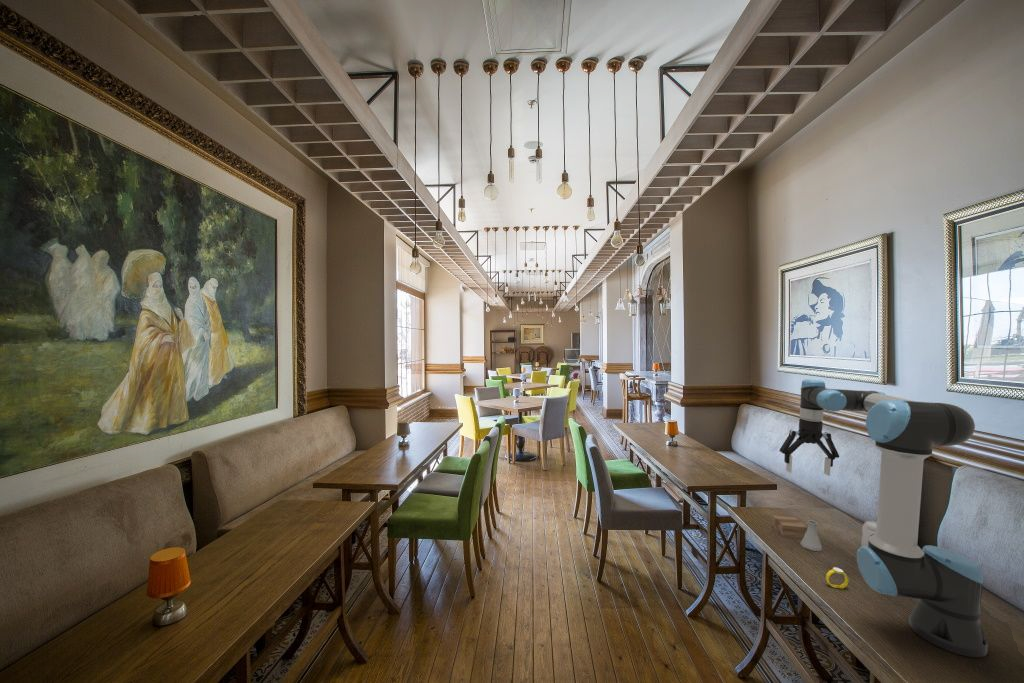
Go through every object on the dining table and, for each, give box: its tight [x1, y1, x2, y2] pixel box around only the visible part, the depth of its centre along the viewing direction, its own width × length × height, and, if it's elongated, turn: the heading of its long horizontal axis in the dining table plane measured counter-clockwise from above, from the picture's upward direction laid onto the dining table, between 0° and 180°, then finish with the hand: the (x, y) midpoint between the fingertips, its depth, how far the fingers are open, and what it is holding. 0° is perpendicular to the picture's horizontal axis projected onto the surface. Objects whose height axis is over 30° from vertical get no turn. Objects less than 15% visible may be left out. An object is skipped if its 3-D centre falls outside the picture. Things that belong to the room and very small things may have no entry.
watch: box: [825, 566, 849, 590], centre depth 139 cm, size 6×3×6 cm, turn 80°
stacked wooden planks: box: [772, 515, 808, 540], centre depth 176 cm, size 9×9×5 cm
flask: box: [799, 519, 823, 552], centre depth 165 cm, size 7×7×10 cm
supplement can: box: [860, 520, 877, 547], centre depth 152 cm, size 8×8×15 cm
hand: (807, 473), depth 167 cm, fingers open, 13 cm apart
